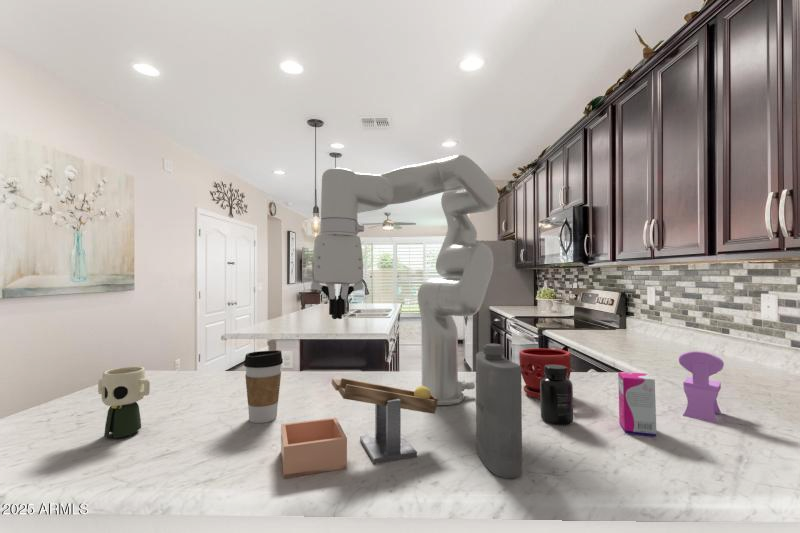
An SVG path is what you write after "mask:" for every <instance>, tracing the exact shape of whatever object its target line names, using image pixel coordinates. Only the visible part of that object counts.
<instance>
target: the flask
mask: <svg viewBox="0 0 800 533" xmlns="http://www.w3.org/2000/svg"><path fill="white" fill-rule="evenodd" d="M504 350H505V348H504V346H503V345H502V344H500V343H486V344H484V345H483V351H482V350H481V351H477V353H476V354H475V423H476V424H475V430H476V431H475V442H476V443H475V446H476V448H475V449H476V452H477V455H478V457H479V459H480V460H481V462H482V464H483V465H484V466H485V467H486V468H487V469H488V470H489V472H490V473H492V474H493V475H495V476H496V477H499V478H503V479H509V480H511V479H516V478H519V477H521V476H522V474H523V433H522V432H523V428H522V427H523V424H522V423H523V421H522V420H523V416H522V414H523V413H522V412H523V409H522V408H523V407H522V404H523V403H522V374H521V367H520V364H519V363H515V362H513V361H511V360H509V359H507V358H506V357H505V351H504Z"/></svg>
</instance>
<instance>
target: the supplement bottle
mask: <svg viewBox="0 0 800 533" xmlns="http://www.w3.org/2000/svg"><path fill="white" fill-rule="evenodd" d="M544 374H545V377H543V378H542V379H541V381H540V399H539V400H540V418H541V419H542V421H544V422H545V423H547V424H551V425H555V426H568V425H572V424H573V422H574V389H573V387H574V386H573V382H572V381H571V379H570V378H569V379H568V378H567V377H566V376H568V373H567V367H566V366H562V365H545V366H544Z"/></svg>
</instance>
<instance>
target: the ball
mask: <svg viewBox="0 0 800 533" xmlns="http://www.w3.org/2000/svg"><path fill="white" fill-rule="evenodd" d="M414 391H415V392H414V396H415V397H420V398H426V399H430V396H431V394H430V391H429V389H428V388H427V387H425V386H422V385H419V386H418V387H416V388H415V390H414Z"/></svg>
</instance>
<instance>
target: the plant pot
mask: <svg viewBox="0 0 800 533" xmlns="http://www.w3.org/2000/svg"><path fill="white" fill-rule="evenodd" d="M518 354H519V355H518V356H519V357H518V358H519V359H518V360H519V366H520V367H521V378H522V379H523V382H524V384H525V385H524V386H523V391H524V393H526V394H527V396H529V397H531V398H535V399H539V400H540V381H541V379H542V378H543V377H545V374H544V366H545V365H562V366H566V367H567V373H568V376H566V377H567V378H568V379H569V380H570V377H571V367H572V361H571V360H572V359H571V353H570V352H569V351H567V350H564V349H555V348H554V349H553V348H541V347H539V348H526V349H521V350H519V353H518ZM533 368H534V369H533Z"/></svg>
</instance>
